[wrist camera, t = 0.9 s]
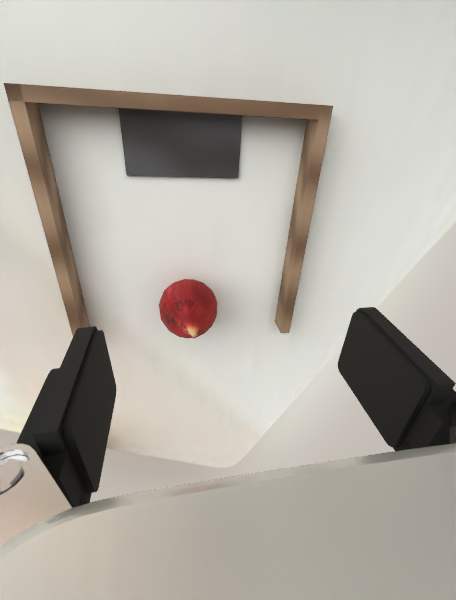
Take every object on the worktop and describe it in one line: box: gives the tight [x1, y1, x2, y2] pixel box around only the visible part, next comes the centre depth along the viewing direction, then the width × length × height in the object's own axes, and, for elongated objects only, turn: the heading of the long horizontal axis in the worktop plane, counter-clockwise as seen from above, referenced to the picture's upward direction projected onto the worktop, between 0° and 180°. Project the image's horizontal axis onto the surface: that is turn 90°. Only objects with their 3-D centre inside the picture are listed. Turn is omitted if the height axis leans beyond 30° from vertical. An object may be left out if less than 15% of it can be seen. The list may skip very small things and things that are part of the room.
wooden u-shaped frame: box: [4, 83, 333, 336], centre depth 29 cm, size 23×24×2 cm
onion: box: [159, 279, 217, 338], centre depth 30 cm, size 6×6×8 cm
